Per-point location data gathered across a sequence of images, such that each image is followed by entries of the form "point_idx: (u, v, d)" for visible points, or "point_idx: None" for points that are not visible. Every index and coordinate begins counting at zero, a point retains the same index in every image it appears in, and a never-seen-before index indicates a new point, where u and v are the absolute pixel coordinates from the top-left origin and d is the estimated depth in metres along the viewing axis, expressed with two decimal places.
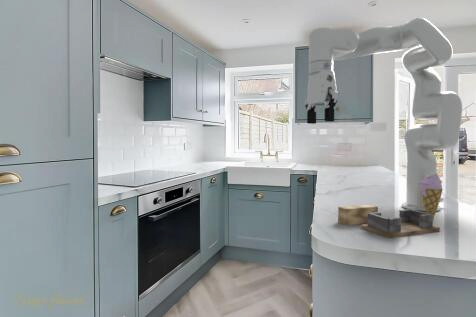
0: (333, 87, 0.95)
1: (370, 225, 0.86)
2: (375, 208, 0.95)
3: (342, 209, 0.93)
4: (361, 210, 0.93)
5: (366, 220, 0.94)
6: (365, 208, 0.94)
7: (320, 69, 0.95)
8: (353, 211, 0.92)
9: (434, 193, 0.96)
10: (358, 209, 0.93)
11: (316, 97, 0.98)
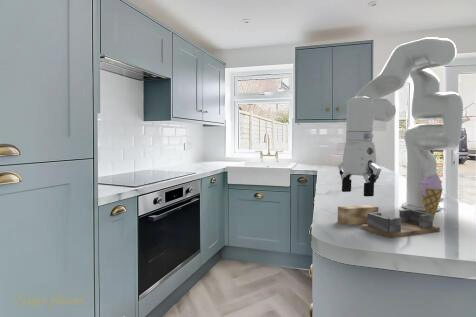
0: (373, 160, 0.90)
1: (370, 225, 0.86)
2: (375, 208, 0.95)
3: (341, 209, 0.93)
4: (361, 210, 0.93)
5: (366, 220, 0.94)
6: (365, 208, 0.94)
7: (360, 140, 0.91)
8: (352, 211, 0.93)
9: (434, 193, 0.96)
10: (357, 209, 0.93)
11: (354, 168, 0.93)
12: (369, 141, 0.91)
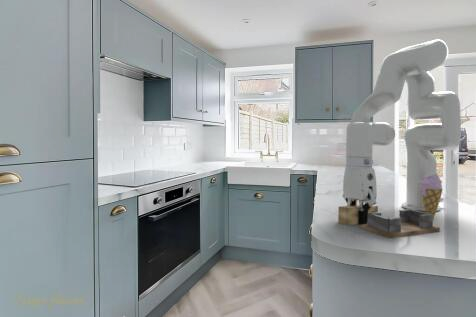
0: (374, 186, 0.91)
1: (370, 225, 0.86)
2: (375, 208, 0.95)
3: (342, 209, 0.93)
4: None
5: None
6: None
7: (360, 166, 0.91)
8: (353, 210, 0.92)
9: (434, 193, 0.96)
10: (358, 209, 0.93)
11: (355, 193, 0.93)
12: (369, 166, 0.91)
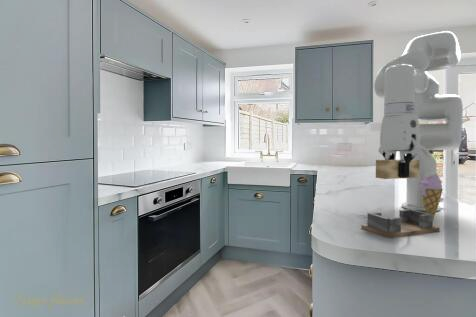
0: (417, 134, 0.82)
1: (370, 225, 0.86)
2: (416, 161, 0.86)
3: (381, 161, 0.84)
4: None
5: None
6: None
7: (401, 113, 0.82)
8: (393, 163, 0.84)
9: (434, 193, 0.96)
10: (399, 161, 0.84)
11: (395, 144, 0.84)
12: (412, 113, 0.83)
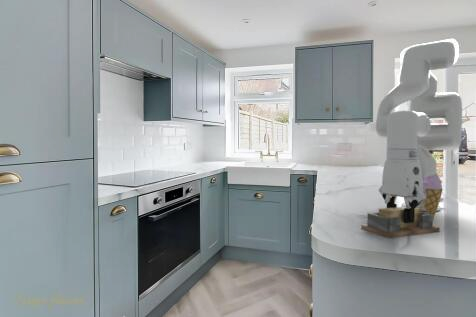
0: (420, 181, 0.82)
1: (370, 225, 0.86)
2: (419, 210, 0.87)
3: (384, 211, 0.84)
4: None
5: (409, 223, 0.86)
6: None
7: (404, 159, 0.82)
8: (396, 213, 0.84)
9: (434, 193, 0.96)
10: (401, 211, 0.84)
11: (397, 189, 0.84)
12: (414, 159, 0.83)
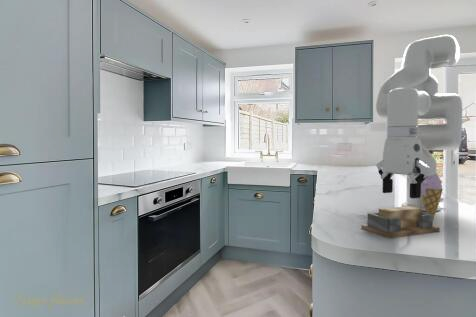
0: (420, 158, 0.82)
1: (370, 225, 0.86)
2: (419, 210, 0.87)
3: (384, 211, 0.84)
4: (404, 212, 0.85)
5: (409, 223, 0.86)
6: (408, 210, 0.85)
7: (405, 136, 0.82)
8: (396, 213, 0.84)
9: (434, 193, 0.96)
10: (401, 211, 0.84)
11: (398, 167, 0.84)
12: (415, 137, 0.82)
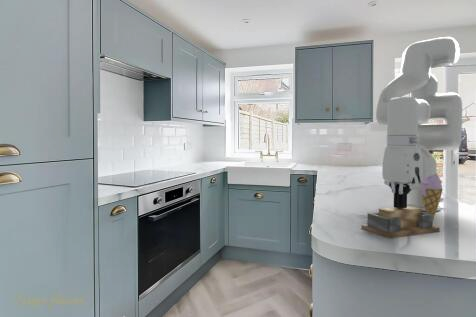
0: (420, 167, 0.82)
1: (370, 225, 0.86)
2: (419, 210, 0.87)
3: (384, 211, 0.84)
4: (404, 212, 0.85)
5: (409, 223, 0.86)
6: (408, 210, 0.85)
7: (404, 145, 0.82)
8: (396, 213, 0.84)
9: (434, 193, 0.96)
10: (401, 211, 0.84)
11: (398, 176, 0.84)
12: (415, 146, 0.82)
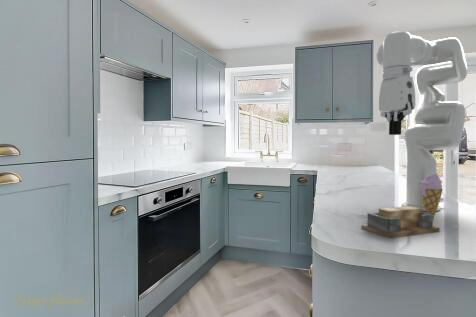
0: (413, 94, 0.90)
1: (370, 225, 0.86)
2: (419, 210, 0.87)
3: (384, 211, 0.84)
4: (404, 212, 0.85)
5: (409, 223, 0.86)
6: (408, 210, 0.85)
7: (399, 75, 0.91)
8: (396, 213, 0.84)
9: (434, 193, 0.96)
10: (401, 211, 0.84)
11: (393, 104, 0.93)
12: (408, 75, 0.91)
